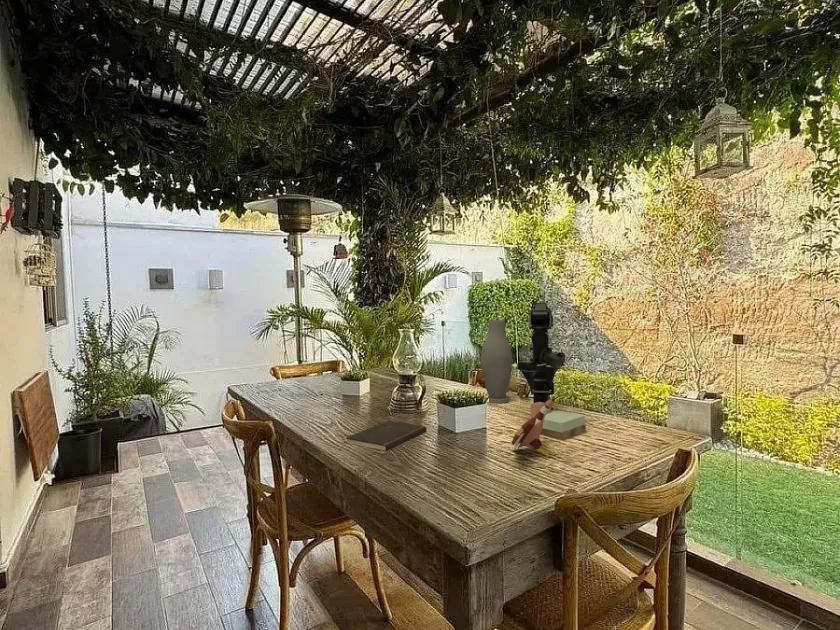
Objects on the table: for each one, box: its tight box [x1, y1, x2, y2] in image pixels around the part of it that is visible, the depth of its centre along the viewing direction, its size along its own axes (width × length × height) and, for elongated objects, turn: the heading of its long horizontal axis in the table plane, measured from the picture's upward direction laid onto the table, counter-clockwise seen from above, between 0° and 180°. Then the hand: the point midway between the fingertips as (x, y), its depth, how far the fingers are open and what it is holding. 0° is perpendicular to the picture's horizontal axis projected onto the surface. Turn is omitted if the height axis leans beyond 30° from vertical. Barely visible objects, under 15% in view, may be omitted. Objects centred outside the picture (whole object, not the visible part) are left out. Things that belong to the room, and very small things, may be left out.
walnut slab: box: [540, 424, 587, 441], centre depth 153 cm, size 13×10×3 cm
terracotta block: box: [530, 402, 552, 419], centre depth 169 cm, size 5×5×6 cm
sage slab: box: [543, 410, 585, 433], centre depth 153 cm, size 13×10×3 cm
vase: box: [480, 319, 513, 404], centre depth 201 cm, size 13×13×35 cm
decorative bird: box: [511, 395, 557, 458], centre depth 133 cm, size 28×18×15 cm, turn 151°
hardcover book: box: [344, 420, 428, 452], centre depth 153 cm, size 16×23×2 cm
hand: (540, 387), depth 167 cm, fingers open, 9 cm apart
